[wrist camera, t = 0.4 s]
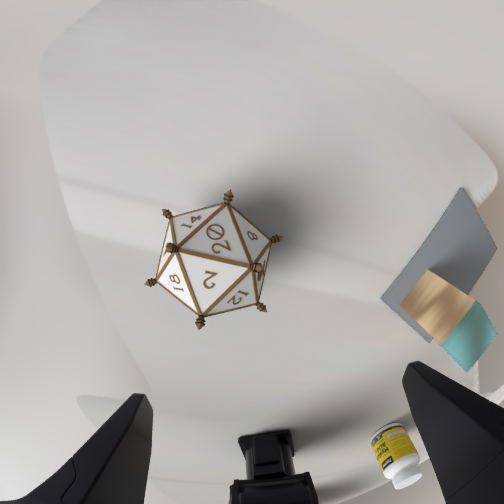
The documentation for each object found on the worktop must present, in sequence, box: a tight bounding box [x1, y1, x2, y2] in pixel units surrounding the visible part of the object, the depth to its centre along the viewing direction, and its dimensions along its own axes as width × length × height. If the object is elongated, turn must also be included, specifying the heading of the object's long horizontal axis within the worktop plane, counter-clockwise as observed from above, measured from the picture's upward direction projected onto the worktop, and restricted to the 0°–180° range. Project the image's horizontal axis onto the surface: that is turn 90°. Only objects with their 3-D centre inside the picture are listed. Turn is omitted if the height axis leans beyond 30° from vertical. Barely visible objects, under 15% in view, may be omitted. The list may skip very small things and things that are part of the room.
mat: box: [380, 189, 497, 343], centre depth 25 cm, size 14×10×1 cm
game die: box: [144, 189, 283, 330], centre depth 19 cm, size 9×8×10 cm
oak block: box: [399, 269, 497, 372], centre depth 21 cm, size 4×6×8 cm
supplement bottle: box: [370, 423, 422, 489], centre depth 27 cm, size 5×5×10 cm
